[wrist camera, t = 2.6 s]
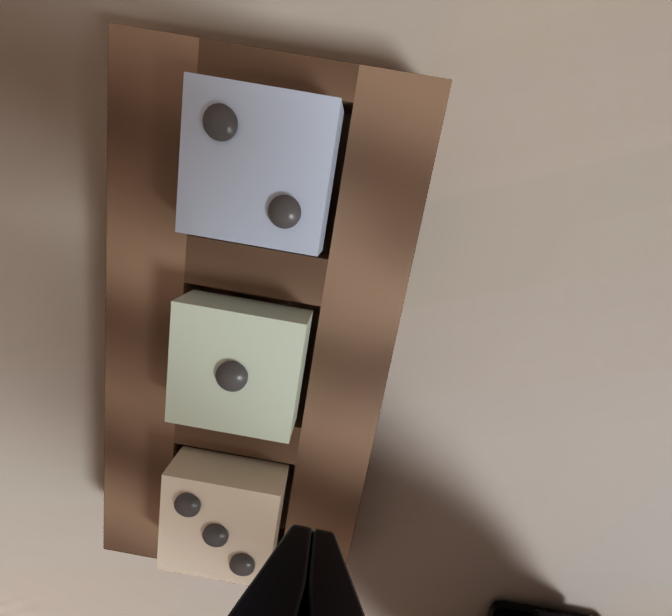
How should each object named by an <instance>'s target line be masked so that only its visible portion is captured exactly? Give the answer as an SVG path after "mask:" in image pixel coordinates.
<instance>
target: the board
mask: <svg viewBox="0 0 672 616" xmlns="http://www.w3.org/2000/svg"><path fill="white" fill-rule="evenodd" d="M184 72H190V73H196V74H202V75H208V76H214V77H220V78H226V79H232V80H238V81H244V82H249V83H255V84H261V85H267V86H273V87H279V88H285V89H291V90H297V91H303V92H309V93H315V94H321V95H327V96H333V97H339V98H342V103H343V109H344V116H343V122H342V129H341V135H340V142H339V148H338V155H337V161H336V167H335V174H334V180H333V187H332V193H331V200H330V206H329V212H328V219H327V225H326V232H325V238H324V245H323V250H322V251H321V253H320V254H319V255H318V256H311V255H305V254H300V253H294V252H288V251H282V250H277V249H271V248H265V247H259V246H253V245H248V244H242V243H236V242H230V241H225V240H219V239H213V238H207V237H202V236H196V235H190V234H184V233H179V232H175V223H176V205H177V187H178V169H179V151H180V133H181V114H182V96H183V78H184ZM451 83H452V80H451V79H445V78H439V77H433V76H427V75H421V74H415V73H409V72H403V71H397V70H391V69H385V68H379V67H373V66H367V65H361V64H354V63H348V62H342V61H336V60H330V59H324V58H318V57H312V56H306V55H300V54H294V53H288V52H282V51H276V50H270V49H264V48H258V47H252V46H246V45H240V44H234V43H228V42H222V41H216V40H210V39H204V38H198V37H192V36H186V35H180V34H174V33H168V32H162V31H156V30H150V29H144V28H138V27H132V26H126V25H120V24H114V23H108V125H107V233H106V340H105V448H104V549H107V550H113V551H118V552H124V553H129V554H134V555H140V556H145V557H151V558H156V559H157V550H158V532H159V514H160V496H161V478H162V474H163V472H164V471H165V469H166V468H167V467H168V465H169V464H170V463H171V461H172V460H173V458H174V457H175V456H176V454H177V453H178V452H179V450H180V449H181V447H182V446H186V447H192V448H198V449H203V450H209V451H214V452H220V453H225V454H231V455H236V456H242V457H247V458H253V459H258V460H264V461H269V462H275V463H280V464H286V465H289V470H288V476H287V482H286V489H285V495H284V502H283V508H282V515H281V521H280V527H279V534H278V540H277V545H278V544H279V542H280V541H281V539H282V538H283V537H284V535H285V534H286V532H287V531H288V530H289V528H290V527H291V526H292V525H293V524H298V525H303V526H308V527H311V528H312V532H313V530H314V529H316V528H318V529H323V530H328V531H332V532H333V533H334V534H335V536H336V539H337V542H338V544H339V547H340V550H341V552H342V555H343V558H344V561H345V563H346V565H347V560H348V556H349V551H350V546H351V542H352V537H353V533H354V528H355V523H356V519H357V514H358V510H359V505H360V500H361V496H362V491H363V487H364V482H365V478H366V473H367V468H368V464H369V459H370V455H371V450H372V445H373V441H374V436H375V432H376V427H377V423H378V418H379V413H380V409H381V404H382V400H383V395H384V390H385V386H386V381H387V377H388V372H389V368H390V363H391V358H392V354H393V349H394V345H395V340H396V335H397V331H398V326H399V322H400V317H401V313H402V308H403V303H404V299H405V294H406V290H407V285H408V280H409V276H410V271H411V267H412V262H413V258H414V253H415V248H416V244H417V239H418V235H419V230H420V225H421V221H422V216H423V212H424V207H425V202H426V198H427V193H428V189H429V184H430V180H431V175H432V170H433V166H434V161H435V157H436V152H437V147H438V143H439V138H440V134H441V129H442V125H443V120H444V115H445V111H446V106H447V102H448V97H449V92H450V88H451ZM193 289H195V290H200V291H206V292H212V293H217V294H223V295H229V296H235V297H240V298H246V299H252V300H257V301H263V302H269V303H274V304H280V305H286V306H292V307H297V308H303V309H309V310H313V315H312V322H311V328H310V335H309V341H308V347H307V354H306V360H305V367H304V373H303V380H302V386H301V392H300V399H299V405H298V412H297V418H296V421H295V425H294V428H293V431H292V435H291V438H290V442H289V444H286V443H280V442H275V441H269V440H263V439H258V438H252V437H247V436H241V435H236V434H230V433H225V432H219V431H214V430H208V429H202V428H197V427H191V426H186V425H180V424H175V423H169V422H165V405H166V387H167V369H168V350H169V332H170V314H171V301H172V300H174V299H176V298H178V297H180V296H182V295H184V294H186V293H188V292H190V291H191V290H193Z"/></svg>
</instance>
